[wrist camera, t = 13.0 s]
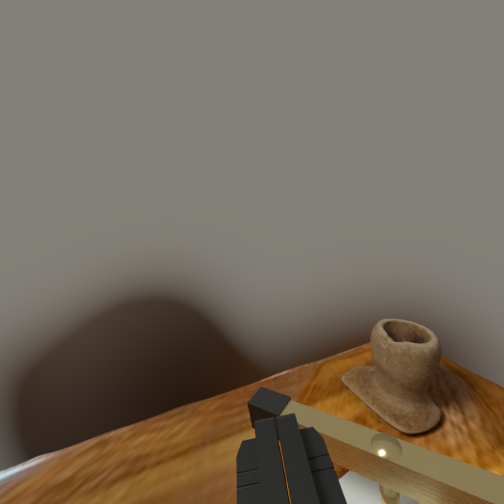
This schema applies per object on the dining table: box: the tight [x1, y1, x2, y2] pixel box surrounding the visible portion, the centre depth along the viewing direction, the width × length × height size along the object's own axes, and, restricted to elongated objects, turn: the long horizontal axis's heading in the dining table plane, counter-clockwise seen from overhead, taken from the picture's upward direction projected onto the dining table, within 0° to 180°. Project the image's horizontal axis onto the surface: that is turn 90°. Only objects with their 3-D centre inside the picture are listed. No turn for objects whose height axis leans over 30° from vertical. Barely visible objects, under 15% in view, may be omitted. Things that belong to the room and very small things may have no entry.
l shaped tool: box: [248, 387, 504, 504], centre depth 26 cm, size 22×3×9 cm, turn 54°
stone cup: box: [341, 319, 442, 434], centre depth 48 cm, size 15×12×15 cm
